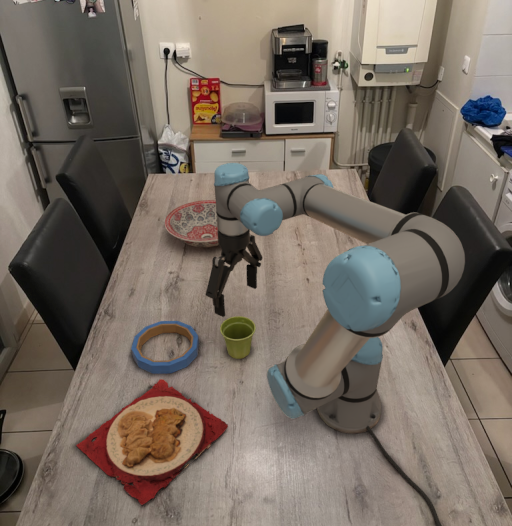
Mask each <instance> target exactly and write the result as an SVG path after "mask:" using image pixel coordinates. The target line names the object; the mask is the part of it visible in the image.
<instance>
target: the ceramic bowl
mask: <svg viewBox="0 0 512 526" xmlns="http://www.w3.org/2000/svg"><path fill="white" fill-rule="evenodd" d="M164 227H165V230H166V231H167V232H168V233H169V235H171V236H173V237H174V238H176V239H178V240H179V241H180V242H182V243H184V244H186V245H188V246H191V247H196V248H213V247H217V246H220V245H219V244H218V232H217V231H218V228H217V213H216V199H213V200H212V199H211V200H209V199H208V200H207V199H206V200H198V201H197V200H196V201H191V202H188V203H185V204H182V205H180V206H177V207H176V208H174V209H172V210H171V211H169V213H168V214H167V215H166V216H165V218H164ZM206 237H207V238H206Z"/></svg>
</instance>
